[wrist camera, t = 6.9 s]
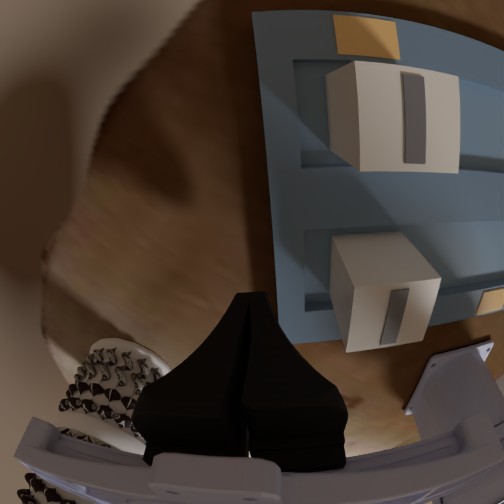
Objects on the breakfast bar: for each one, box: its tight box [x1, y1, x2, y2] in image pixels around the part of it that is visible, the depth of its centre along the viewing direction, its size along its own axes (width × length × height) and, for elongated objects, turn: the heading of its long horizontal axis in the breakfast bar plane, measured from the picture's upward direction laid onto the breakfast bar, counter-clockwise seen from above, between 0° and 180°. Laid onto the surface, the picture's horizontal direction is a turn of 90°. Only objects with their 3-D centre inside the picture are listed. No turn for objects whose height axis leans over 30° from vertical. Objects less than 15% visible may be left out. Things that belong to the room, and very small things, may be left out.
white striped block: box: [325, 61, 460, 174], centre depth 10 cm, size 4×4×5 cm
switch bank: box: [252, 10, 504, 344], centre depth 13 cm, size 18×22×2 cm
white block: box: [329, 231, 441, 352], centre depth 13 cm, size 4×4×5 cm
